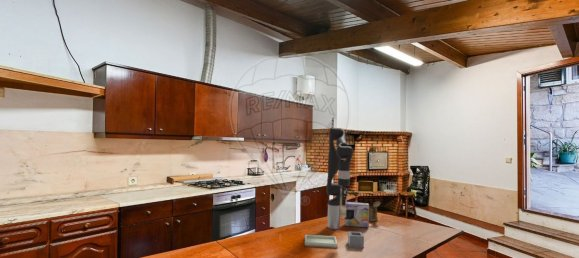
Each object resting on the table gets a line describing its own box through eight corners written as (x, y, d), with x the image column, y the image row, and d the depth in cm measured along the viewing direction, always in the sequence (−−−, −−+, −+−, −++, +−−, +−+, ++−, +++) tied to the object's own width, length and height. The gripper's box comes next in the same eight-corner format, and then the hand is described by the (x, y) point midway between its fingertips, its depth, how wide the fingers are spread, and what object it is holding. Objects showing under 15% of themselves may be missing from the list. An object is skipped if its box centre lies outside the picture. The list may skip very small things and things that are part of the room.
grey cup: (347, 242, 191) (348, 231, 192) (361, 243, 191) (361, 232, 191) (349, 247, 183) (349, 235, 183) (363, 247, 182) (363, 236, 182)
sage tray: (305, 238, 196) (305, 234, 196) (335, 240, 195) (335, 236, 195) (304, 246, 182) (304, 242, 182) (337, 248, 181) (337, 243, 181)
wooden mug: (372, 223, 237) (373, 200, 238) (364, 218, 251) (365, 197, 251) (382, 223, 239) (383, 200, 240) (374, 218, 253) (374, 197, 253)
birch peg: (339, 215, 190) (339, 195, 190) (345, 216, 190) (346, 195, 190) (340, 217, 186) (340, 196, 186) (346, 217, 186) (347, 196, 186)
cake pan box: (343, 225, 230) (343, 202, 230) (343, 223, 234) (344, 201, 235) (368, 228, 224) (369, 204, 225) (368, 226, 229) (369, 203, 229)
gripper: (336, 175, 196) (335, 201, 195) (339, 178, 182) (338, 206, 181) (348, 176, 196) (347, 202, 195) (351, 179, 181) (350, 207, 181)
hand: (343, 204), depth 188 cm, fingers closed on birch peg, 4 cm apart
